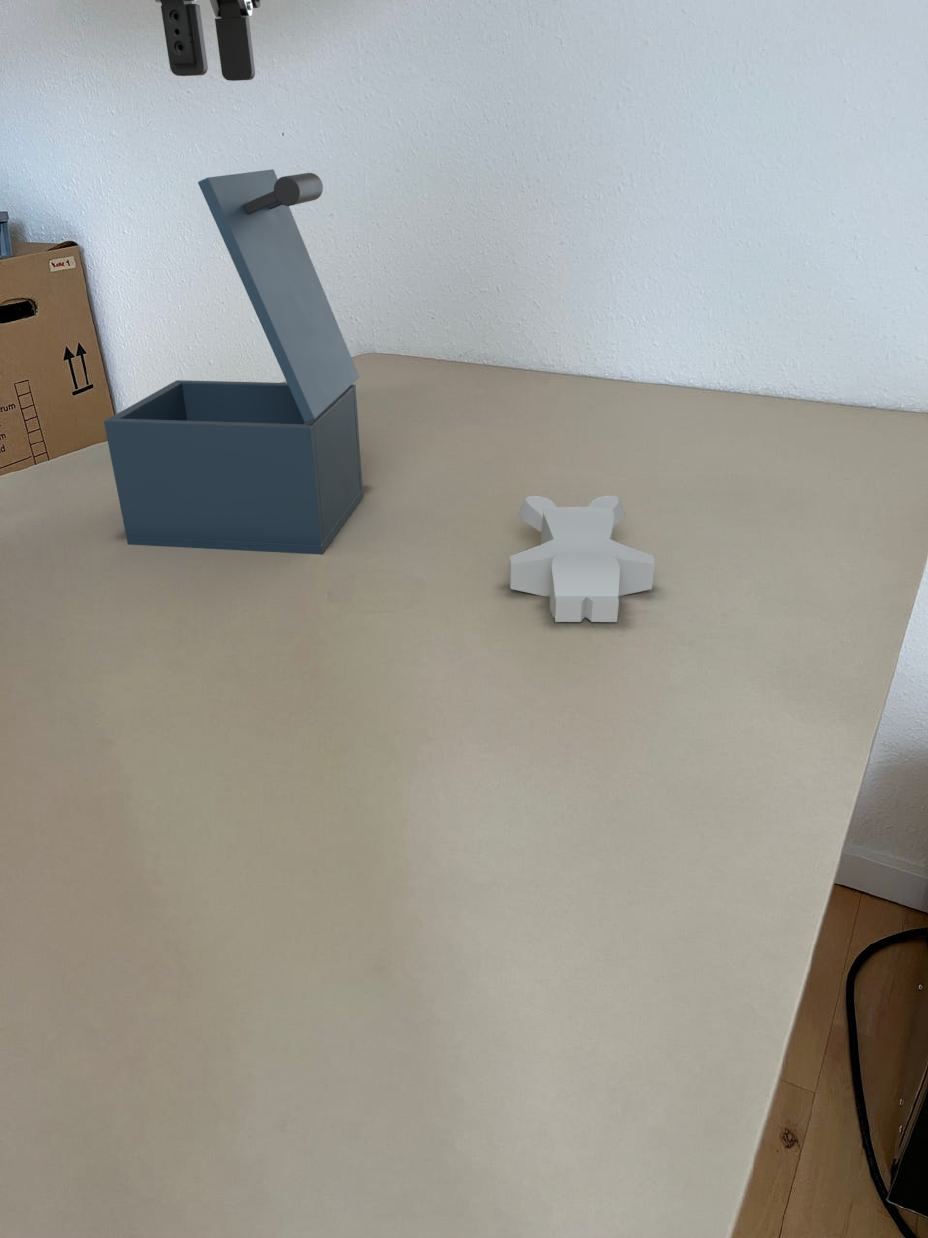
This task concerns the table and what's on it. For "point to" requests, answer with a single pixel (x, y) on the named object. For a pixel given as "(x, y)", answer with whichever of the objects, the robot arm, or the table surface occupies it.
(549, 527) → the white teddy bear figure
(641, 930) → the table surface
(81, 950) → the table surface
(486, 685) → the table surface
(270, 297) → the bin lid
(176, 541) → the bin
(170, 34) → the robot arm
